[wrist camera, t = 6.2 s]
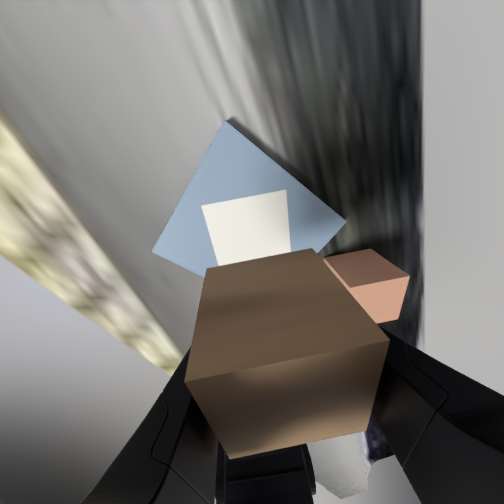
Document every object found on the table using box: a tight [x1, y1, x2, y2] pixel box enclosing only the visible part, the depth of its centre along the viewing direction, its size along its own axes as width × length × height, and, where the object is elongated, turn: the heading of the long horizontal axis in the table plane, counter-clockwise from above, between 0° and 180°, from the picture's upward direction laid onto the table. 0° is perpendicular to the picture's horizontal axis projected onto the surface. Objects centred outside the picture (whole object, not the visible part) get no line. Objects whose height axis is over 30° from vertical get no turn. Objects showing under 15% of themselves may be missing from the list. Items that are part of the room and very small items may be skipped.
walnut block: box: [184, 248, 390, 459], centre depth 8 cm, size 5×5×5 cm
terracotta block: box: [324, 249, 410, 323], centre depth 19 cm, size 5×5×5 cm
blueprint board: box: [152, 120, 347, 278], centre depth 18 cm, size 12×13×1 cm
